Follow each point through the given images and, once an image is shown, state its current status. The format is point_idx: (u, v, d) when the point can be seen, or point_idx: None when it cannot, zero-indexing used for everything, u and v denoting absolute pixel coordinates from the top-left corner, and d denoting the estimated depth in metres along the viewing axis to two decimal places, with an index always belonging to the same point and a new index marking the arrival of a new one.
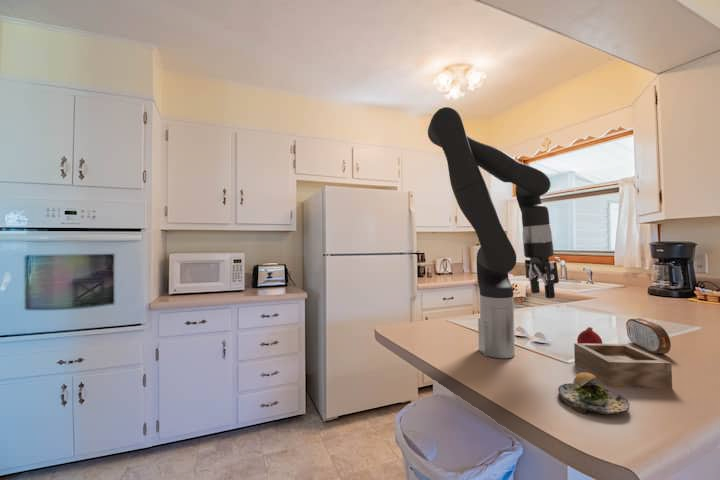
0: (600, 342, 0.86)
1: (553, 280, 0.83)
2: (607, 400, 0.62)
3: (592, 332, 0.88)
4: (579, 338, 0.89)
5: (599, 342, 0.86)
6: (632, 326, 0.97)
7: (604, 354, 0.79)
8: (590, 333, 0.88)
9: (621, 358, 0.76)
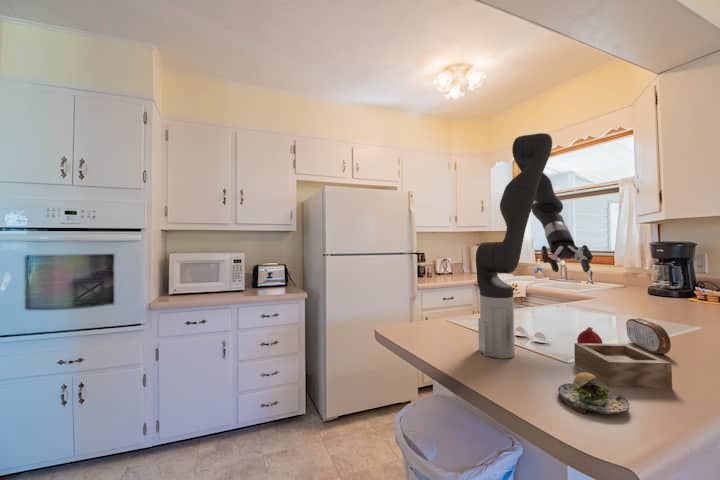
0: (600, 342, 0.86)
1: None
2: (607, 400, 0.62)
3: (592, 332, 0.88)
4: (579, 338, 0.89)
5: (599, 342, 0.86)
6: (632, 326, 0.97)
7: (604, 354, 0.79)
8: (590, 333, 0.88)
9: (621, 358, 0.76)
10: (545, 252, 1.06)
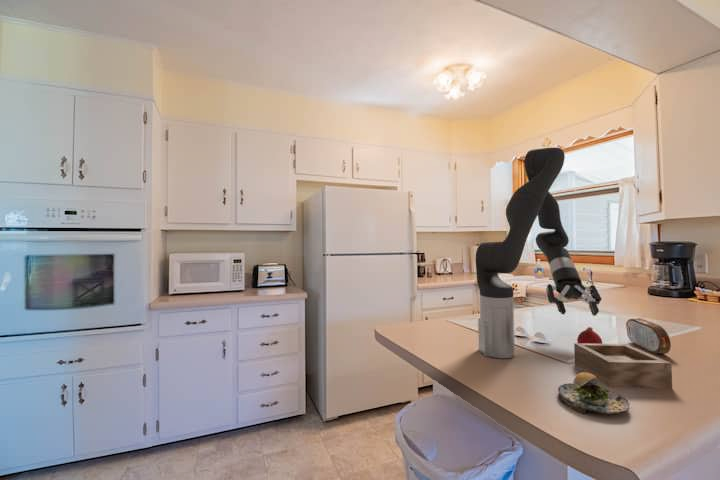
0: (600, 342, 0.86)
1: None
2: (607, 400, 0.62)
3: (592, 332, 0.88)
4: (579, 338, 0.89)
5: (599, 342, 0.86)
6: (632, 326, 0.97)
7: (604, 354, 0.79)
8: (590, 333, 0.88)
9: (621, 358, 0.76)
10: (551, 291, 1.01)
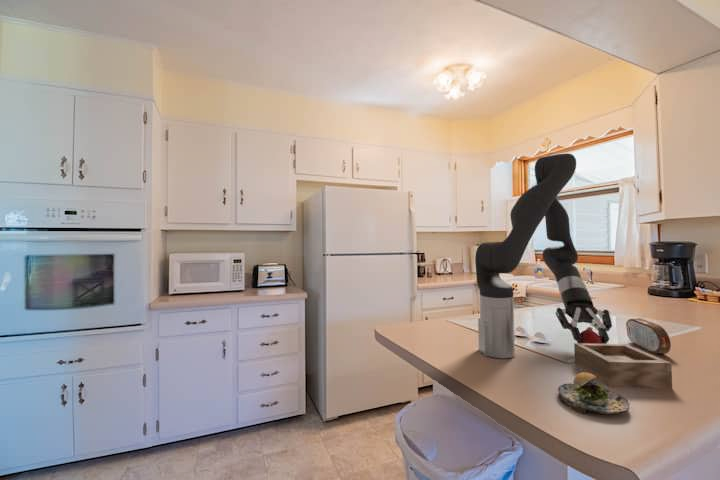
0: (600, 342, 0.86)
1: None
2: (607, 400, 0.62)
3: (592, 332, 0.88)
4: None
5: (599, 342, 0.86)
6: (632, 326, 0.97)
7: (604, 354, 0.79)
8: (590, 333, 0.88)
9: (621, 358, 0.76)
10: (563, 316, 0.93)
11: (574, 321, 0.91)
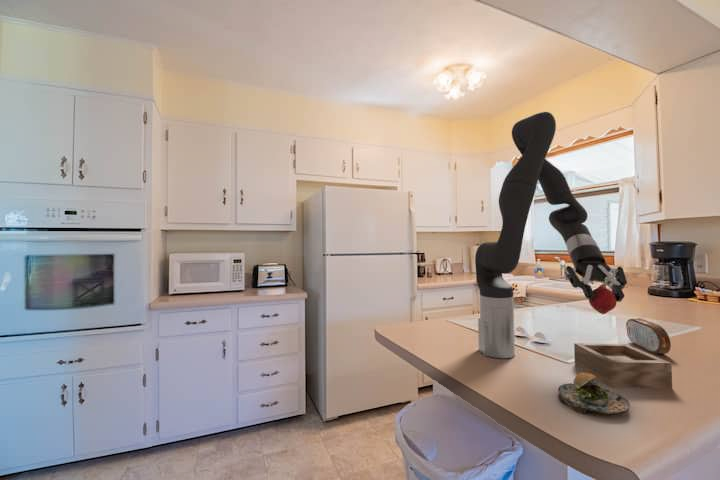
0: (614, 299, 0.79)
1: None
2: (607, 400, 0.62)
3: (606, 289, 0.80)
4: None
5: (613, 299, 0.79)
6: (632, 326, 0.97)
7: (604, 354, 0.79)
8: (603, 290, 0.80)
9: (621, 358, 0.76)
10: (573, 274, 0.85)
11: (586, 278, 0.83)
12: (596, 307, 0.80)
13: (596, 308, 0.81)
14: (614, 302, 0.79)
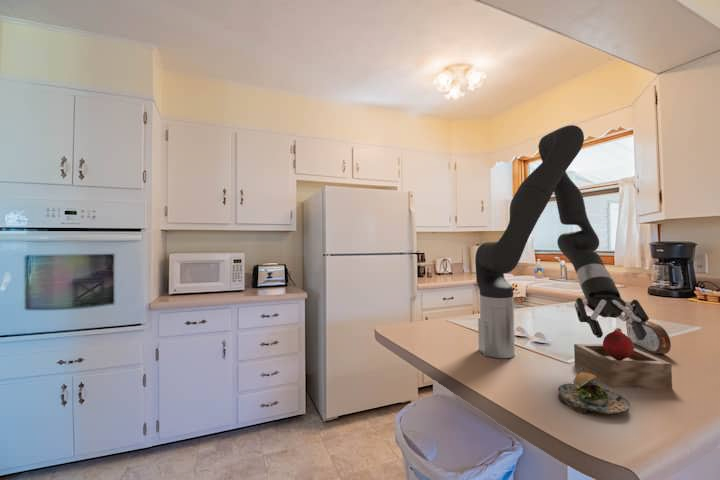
0: (632, 346, 0.73)
1: None
2: (607, 400, 0.62)
3: (621, 334, 0.74)
4: (606, 341, 0.75)
5: (630, 346, 0.72)
6: None
7: (604, 355, 0.79)
8: (619, 335, 0.74)
9: None
10: (582, 308, 0.80)
11: (594, 313, 0.78)
12: (612, 354, 0.74)
13: (611, 355, 0.75)
14: (631, 349, 0.72)
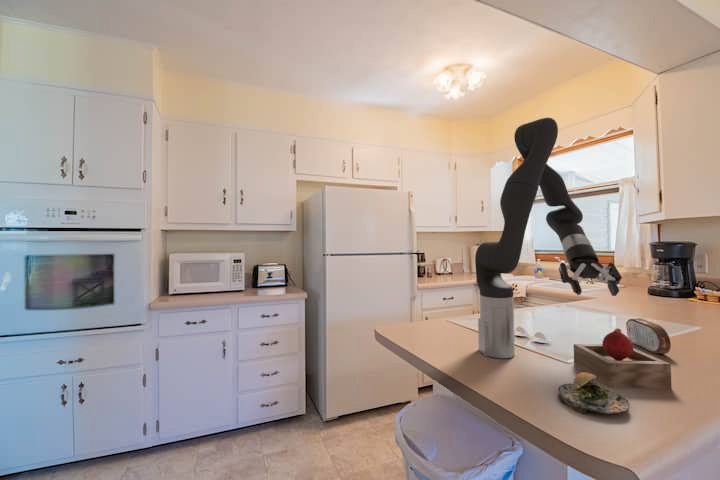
0: (631, 346, 0.72)
1: None
2: (607, 400, 0.62)
3: (621, 334, 0.74)
4: (605, 341, 0.75)
5: (630, 346, 0.72)
6: (632, 326, 0.97)
7: (603, 355, 0.79)
8: (618, 335, 0.74)
9: None
10: (564, 270, 0.91)
11: (575, 275, 0.89)
12: (611, 354, 0.74)
13: (611, 355, 0.74)
14: (631, 350, 0.72)
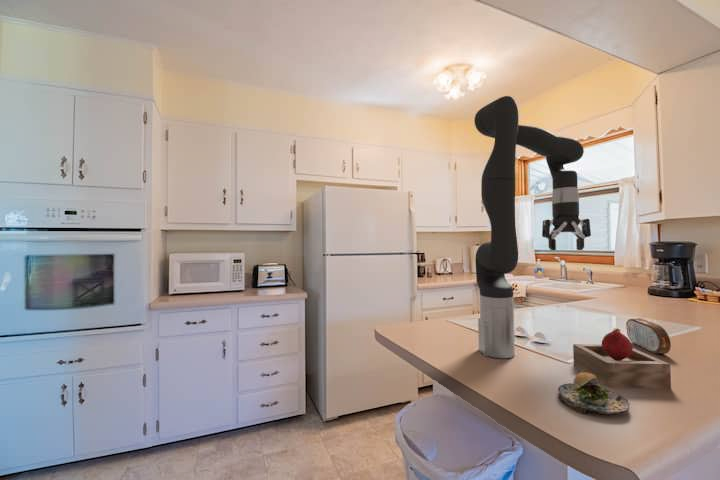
0: (630, 346, 0.72)
1: None
2: (607, 400, 0.62)
3: (620, 334, 0.74)
4: (604, 342, 0.75)
5: (629, 346, 0.72)
6: (632, 326, 0.97)
7: (603, 355, 0.79)
8: (617, 335, 0.74)
9: None
10: (547, 229, 1.02)
11: (555, 233, 1.02)
12: (610, 354, 0.74)
13: (610, 355, 0.74)
14: (630, 350, 0.72)
